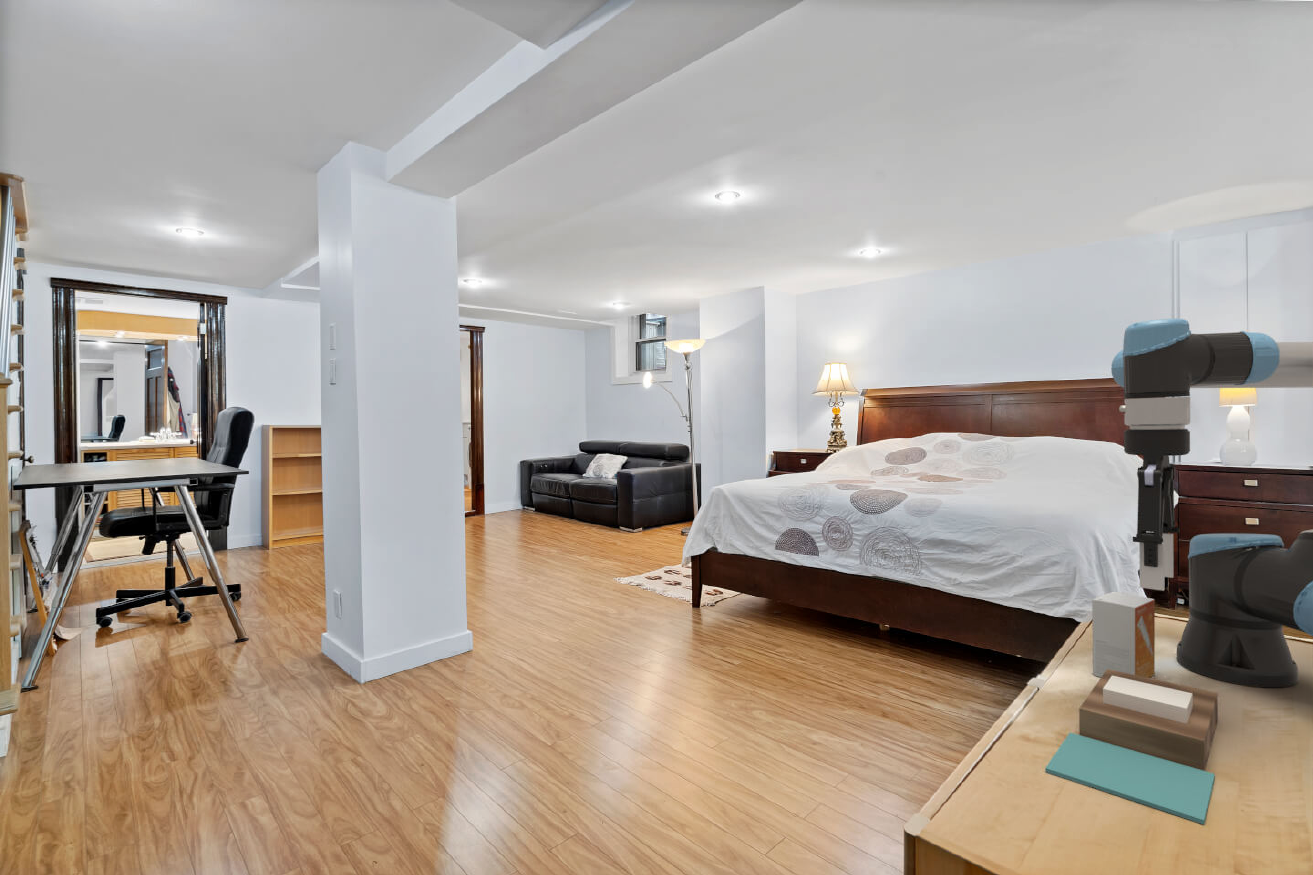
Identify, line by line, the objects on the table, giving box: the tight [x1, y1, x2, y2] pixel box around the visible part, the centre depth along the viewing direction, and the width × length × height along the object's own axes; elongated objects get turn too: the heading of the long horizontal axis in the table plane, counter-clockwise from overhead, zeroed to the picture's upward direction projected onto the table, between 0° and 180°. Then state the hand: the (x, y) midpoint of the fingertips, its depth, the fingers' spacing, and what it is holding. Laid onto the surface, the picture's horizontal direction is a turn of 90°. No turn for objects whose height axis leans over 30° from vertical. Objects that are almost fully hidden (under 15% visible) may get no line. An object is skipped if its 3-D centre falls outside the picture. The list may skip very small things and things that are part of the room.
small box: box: [1091, 590, 1156, 678], centre depth 106 cm, size 8×6×13 cm
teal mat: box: [1044, 732, 1216, 825], centre depth 78 cm, size 12×15×1 cm
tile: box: [1103, 676, 1193, 724], centre depth 87 cm, size 6×9×2 cm, turn 44°
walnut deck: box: [1078, 669, 1219, 771], centre depth 88 cm, size 18×13×4 cm
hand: (1157, 581), depth 93 cm, fingers open, 8 cm apart
